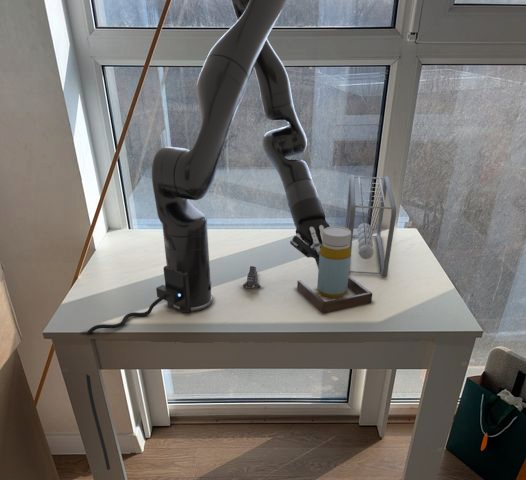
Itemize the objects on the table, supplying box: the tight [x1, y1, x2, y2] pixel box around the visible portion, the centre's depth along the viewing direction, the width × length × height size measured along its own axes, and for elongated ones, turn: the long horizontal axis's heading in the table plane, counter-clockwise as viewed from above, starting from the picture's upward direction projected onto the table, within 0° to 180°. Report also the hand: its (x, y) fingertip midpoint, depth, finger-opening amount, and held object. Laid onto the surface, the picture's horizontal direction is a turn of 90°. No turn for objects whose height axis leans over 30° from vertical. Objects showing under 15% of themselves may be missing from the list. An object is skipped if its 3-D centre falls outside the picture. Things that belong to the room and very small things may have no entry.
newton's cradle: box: [344, 174, 397, 277], centre depth 133 cm, size 30×10×18 cm, turn 172°
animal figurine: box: [242, 265, 262, 289], centre depth 121 cm, size 12×4×5 cm, turn 174°
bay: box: [296, 275, 373, 314], centre depth 117 cm, size 13×13×2 cm
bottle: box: [316, 225, 352, 299], centre depth 116 cm, size 7×7×15 cm
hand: (326, 271), depth 119 cm, fingers closed
